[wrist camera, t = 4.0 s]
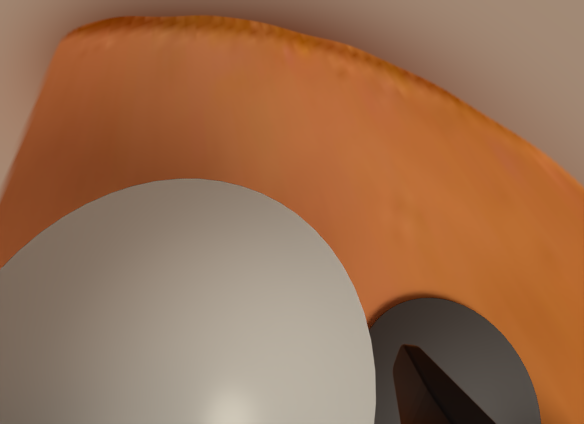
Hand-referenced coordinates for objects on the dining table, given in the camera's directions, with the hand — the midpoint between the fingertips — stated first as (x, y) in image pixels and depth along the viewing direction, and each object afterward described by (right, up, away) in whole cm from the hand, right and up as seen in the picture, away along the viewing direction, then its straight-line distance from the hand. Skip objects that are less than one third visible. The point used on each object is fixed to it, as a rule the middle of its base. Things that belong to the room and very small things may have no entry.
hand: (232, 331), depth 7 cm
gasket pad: (+9, -6, +7) cm, 13 cm away
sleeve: (-1, -4, +7) cm, 8 cm away
